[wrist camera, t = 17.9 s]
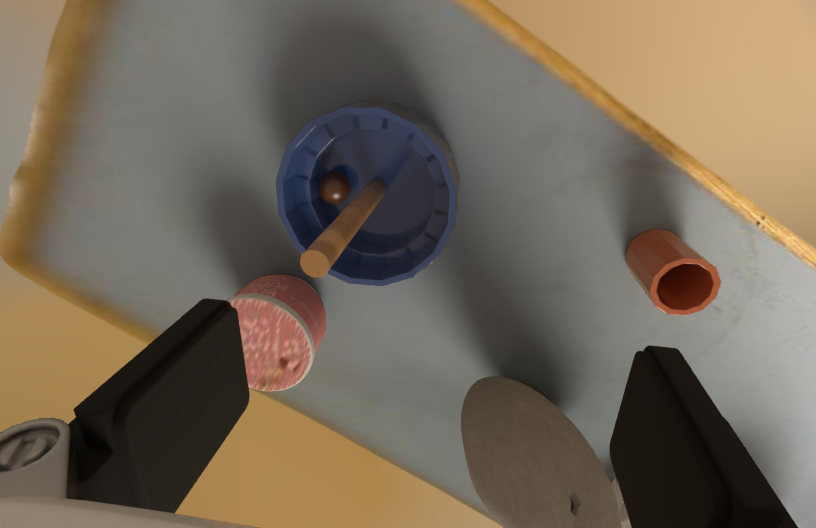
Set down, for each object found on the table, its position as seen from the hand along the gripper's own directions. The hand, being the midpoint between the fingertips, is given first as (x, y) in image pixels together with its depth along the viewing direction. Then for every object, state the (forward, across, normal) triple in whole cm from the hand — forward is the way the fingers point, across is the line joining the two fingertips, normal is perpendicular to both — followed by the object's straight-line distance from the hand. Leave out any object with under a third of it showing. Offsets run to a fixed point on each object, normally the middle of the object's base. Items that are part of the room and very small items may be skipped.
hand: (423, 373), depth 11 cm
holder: (+34, -18, +9) cm, 39 cm away
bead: (+31, +12, +4) cm, 34 cm away
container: (+33, +18, +19) cm, 42 cm away
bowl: (+33, +8, +5) cm, 35 cm away
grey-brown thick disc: (+33, -9, +28) cm, 44 cm away
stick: (+33, +8, +5) cm, 34 cm away
